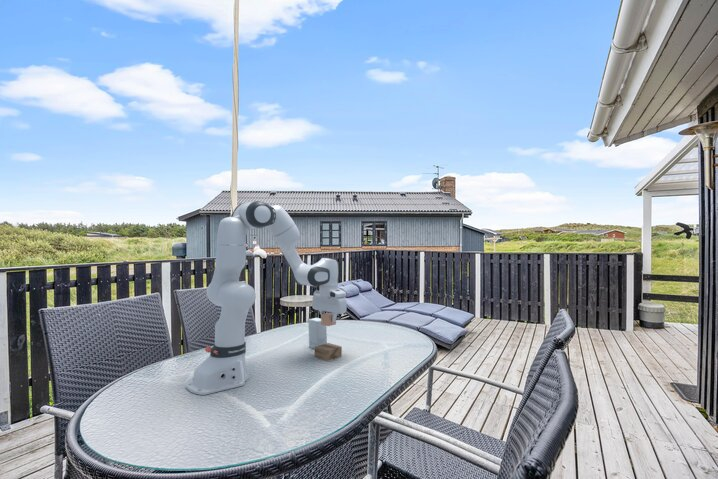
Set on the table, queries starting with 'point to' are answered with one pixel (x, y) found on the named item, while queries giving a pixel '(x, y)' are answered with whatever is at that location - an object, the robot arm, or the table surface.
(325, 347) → the walnut block
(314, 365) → the table surface
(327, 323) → the terracotta cube
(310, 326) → the skincare box
